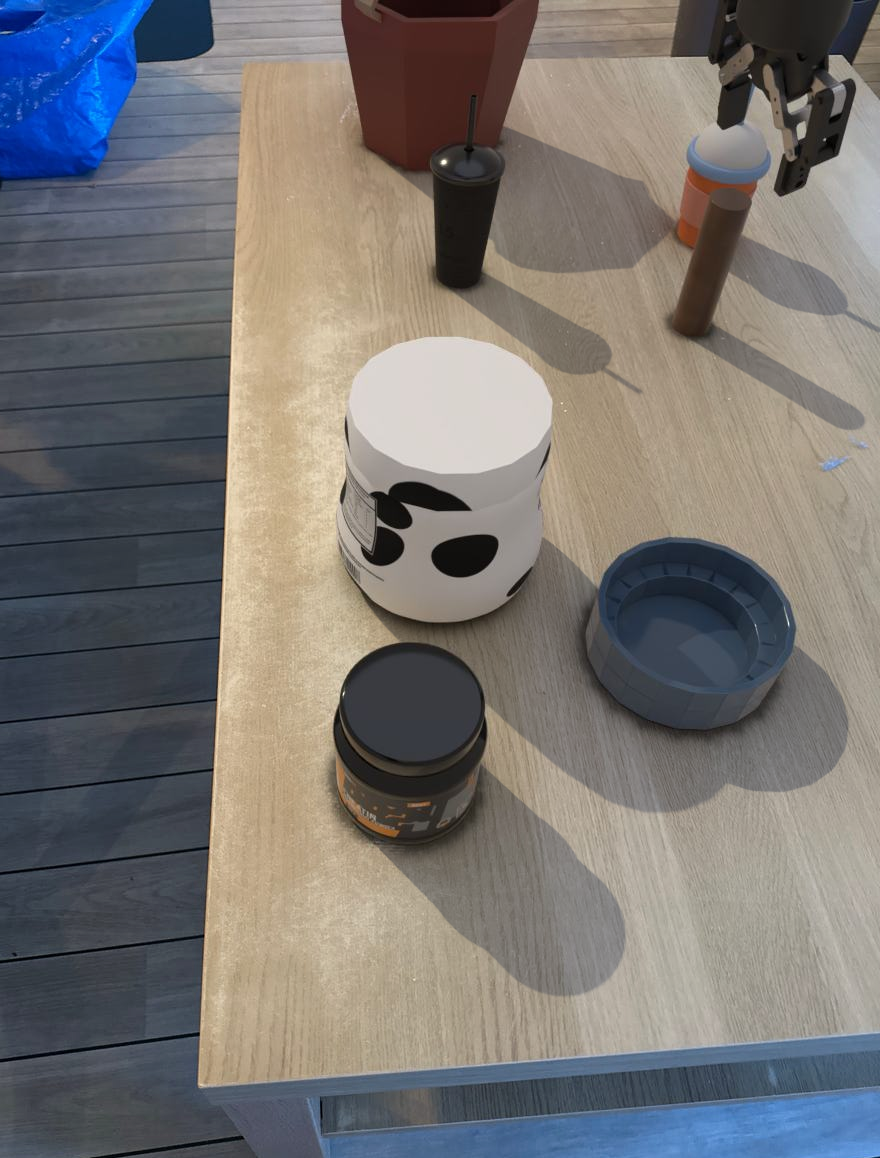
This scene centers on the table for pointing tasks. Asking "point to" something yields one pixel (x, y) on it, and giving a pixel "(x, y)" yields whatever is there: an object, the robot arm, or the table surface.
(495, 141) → the bucket
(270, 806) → the table surface
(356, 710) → the supplement container
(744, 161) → the cup with straw
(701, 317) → the brown cylinder
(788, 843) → the table surface
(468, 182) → the drinking cup
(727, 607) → the bowl
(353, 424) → the milk container
